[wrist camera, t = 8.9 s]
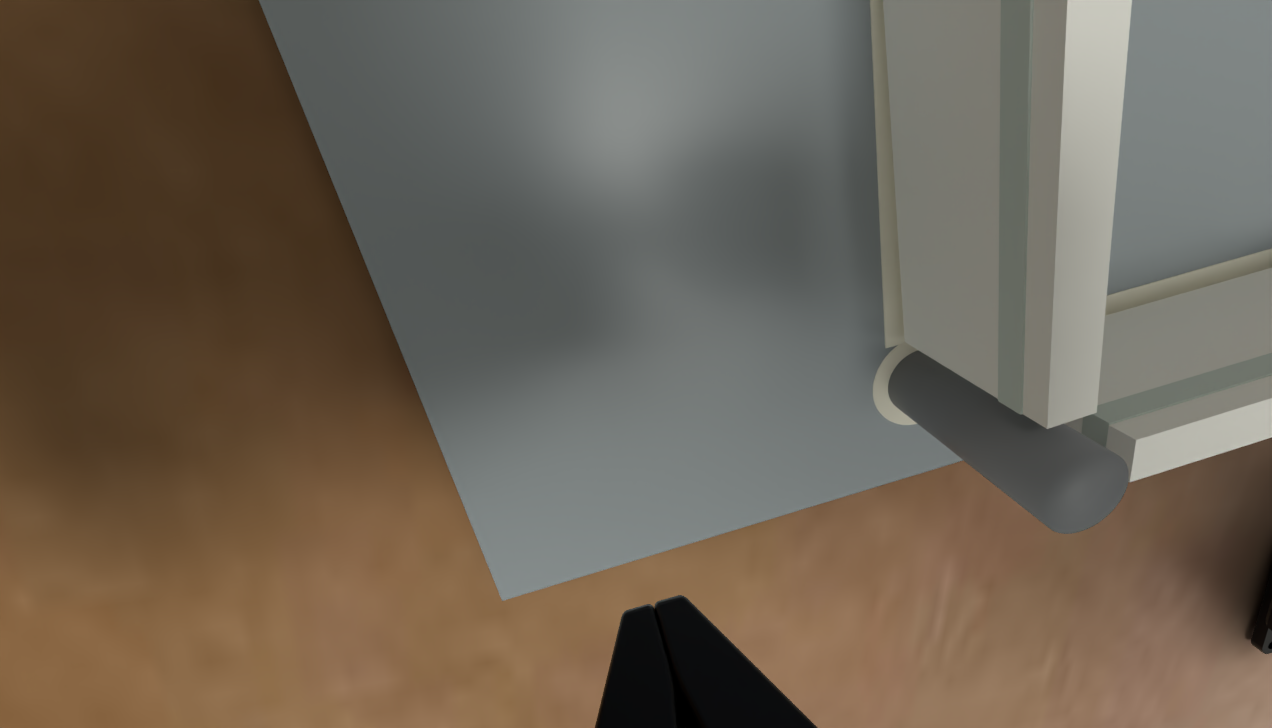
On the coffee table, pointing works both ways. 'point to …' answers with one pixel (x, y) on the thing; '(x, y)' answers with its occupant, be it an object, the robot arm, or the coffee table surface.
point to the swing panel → (1008, 189)
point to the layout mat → (700, 241)
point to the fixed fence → (1117, 404)
